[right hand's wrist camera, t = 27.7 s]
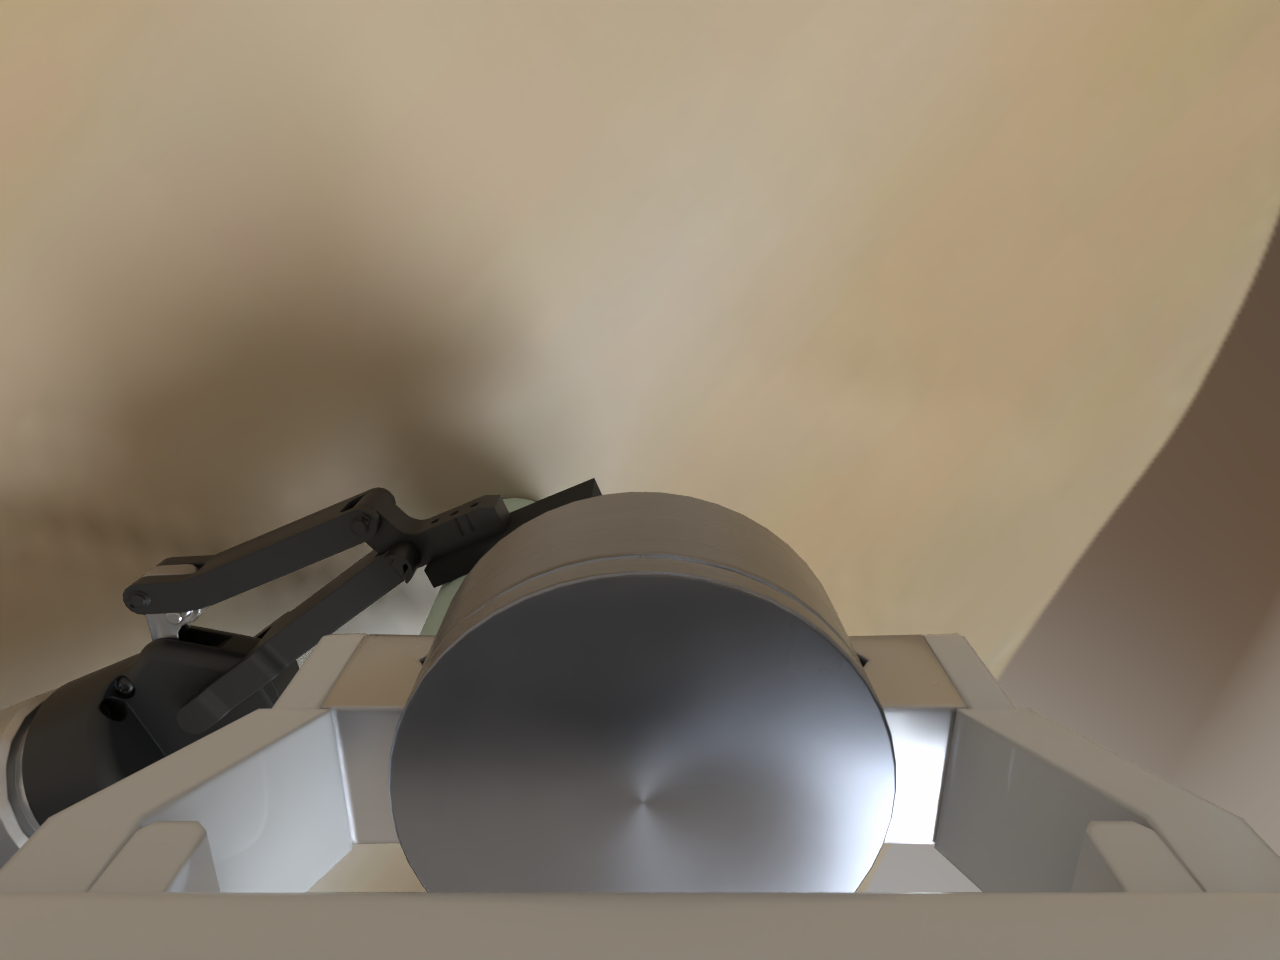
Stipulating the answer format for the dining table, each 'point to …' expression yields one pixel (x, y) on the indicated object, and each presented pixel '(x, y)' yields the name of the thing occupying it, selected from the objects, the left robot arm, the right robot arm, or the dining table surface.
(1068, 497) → the dining table surface
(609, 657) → the lid
